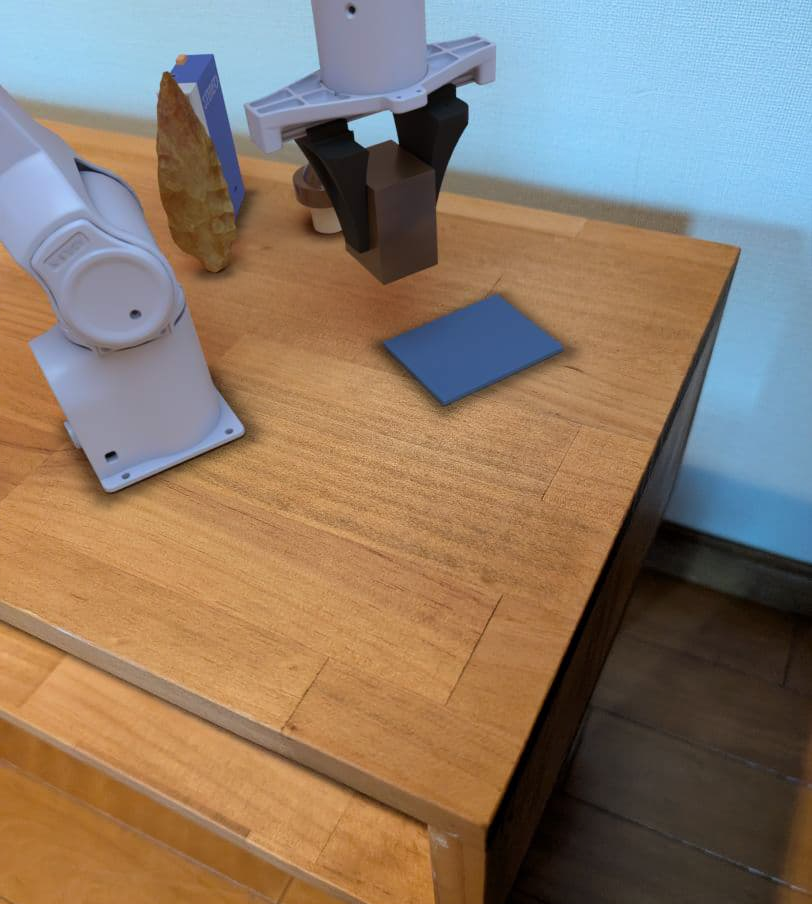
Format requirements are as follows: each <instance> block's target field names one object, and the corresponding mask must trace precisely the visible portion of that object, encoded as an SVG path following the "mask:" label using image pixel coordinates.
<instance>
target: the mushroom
mask: <svg viewBox="0 0 812 904" xmlns="http://www.w3.org/2000/svg"><path fill="white" fill-rule="evenodd" d="M291 179H292V185H293V186H292V187H293V192H294V197H295V200H296V202H298V204H300V205H301V206H304V207H306V208H310V212H311V213H310V214H311V219H312V225H313V228H314V230H315V231H316V232H318V233H320V234H328V235H329V234H336V233H339V232H342V229H341V226H340V223H339V220H338V218H337V215H336V213H335V210H334V208H333V205H332V203H331V201H330V199H329V197H328V195H327V193H326V191H325V189H324V187H323V185H322V183H321V181H320V179H319V178H318V176H317V174H316V172H315V171H314V169H313V167H312V166H311V164H310V163H309V161H308V160H307V162H306V164H304V165H302V166H300V167H299V168H298V169H296V170H295V171H294V173H293V174H292V178H291Z"/></svg>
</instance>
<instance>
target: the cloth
mask: <svg viewBox="0 0 812 904" xmlns="http://www.w3.org/2000/svg"><path fill="white" fill-rule="evenodd" d="M382 347H383V348H384V349H385V350H386V351H387V352H388V353H389V354H390V355H391V356H392V357H394V359H395V360H396V361H397V362H398V363H399V364H401V365H402V367H404V368H405V370H406V371H407V372H408V373H410V375H411V376H412V377H413V378H414V379H416V380H417V381H418V382H419V383H420V384H421V385H422V386H423V387H424V388H425V389H426V391H428V392H429V393H430V394H431V395H432V397H434V398H435V400H437V401H438V402H439V403H440V404H441V405H442V406H443V407H445V406H447V405H450V404H452V403H454V402H456V401H458V400H461V399H462V398H464V397H467V396H469V395H471V394H473V393H476V392H479V391H480V390H483V389H484V388H486V387H489V386H491V385H493V384H495V383H497V382H500V381H502V380H504V379H506V378H508V377H510V376H513V375H515V374H517V373H520V372H521V371H524V370H526V369H528V368H530V367H531V366H534V365H537V364H539V363H540V362H542V361H545V360H547V359H549V358H552V357H554V356H556V355H558V354H560V353H562V352H564V350H565V349H564V348H565V347H564V345H562V344H561V343H560V342H559V341H557V340H556V339H555V338H554V337H552V336H551V335H550V334H549V333H547V332H546V331H545V330H543V329H542V328H541V327H539V325H537V324H536V323H534V322H533V321H532V320H531V319H530V318H528V317H526V316H525V315H524V314H523V313H522V312H520V311H519V310H518V309H516V308H515V307H514V306H512V305H511V303H509V302H507V300H505V299H504V298H503V297H501V296H500V295H498V293H495V294H493V295H491V296H489V297H486V298H484V299H481V300H479V301H477V302H474V303H472V304H470V305H469V304H468V305H467V306H465V307H463V308H459V309H458V310H456V311H453V312H451V313H448V314H446V315H443V316H441V317H439V318H436V319H435V320H432V321H429V322H427V323H424V324H422V325H420V326H417V327H415V328H412V329H410V330H408V331H406V332H403V333H400V334H398V335H396V336H394V337H392V338H389V339H387V340H384V341H383V342H382Z"/></svg>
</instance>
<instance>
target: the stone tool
mask: <svg viewBox="0 0 812 904" xmlns="http://www.w3.org/2000/svg"><path fill="white" fill-rule="evenodd" d="M161 74H162V75H161V80H160V82H159V89H160V92H159V96H158V97H157V103H156V121H157V123H156V127H157V129H156V139H155V140H156V145H155V152H156V156H157V171H156V172H157V183H158V192H159V198H160V202H161V204H162V208H163V211H164V213H165V214H166V217H167V225H168V229H169V233H170V237H171V239H172V241H173V243H174V244H175V245H176V246H177V247H178V249H180V250H181V252H183V253H185V254H186V255H189V256H192V257H194V258H196V259H197V260H198V261H199V262H200V263H201V265H202V266H203V267H204V268H205V269H206V270H208V271H210V272H212V273H214V274H215V273H218V272H219V271H221V270H222V269H224V268H226V267H227V266H229V263H231V258H232V247H233V244H234V242H235V241H237V227H236V224H235V221H236V219H235V220H234V215H235V214H234V209H233V204H232V202H231V200H230V198H229V192H228V185H227V183H226V181H225V179H224V177H223V172H222V167H221V164H220V161H219V159H218V157H217V154H216V149H215V147H214V143H213V141H212V140H211V138H210V137H209V136H208V135H207V133H206V130H205V128H204V126H203V124H202V123H201V121H200V120H199V118H198V116H197V115H196V114H195V112H194V109H193V107H192V105H191V103H190V101H189V100H188V98H187V97H186V95H185V94H184V92H183V91H182V89H181V88H180V87H179V86H178V82H176V81H175V79H174V78H173V77H172V75H171V74H170V71H168V70H166V71H163V72H162V73H161Z"/></svg>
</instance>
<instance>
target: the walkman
mask: <svg viewBox="0 0 812 904" xmlns="http://www.w3.org/2000/svg"><path fill="white" fill-rule="evenodd" d="M169 73H170V74H171V75H172V77H173V78H174V79H175V81H176V82H178V86H179V87H180V88H181V89H182V91H183V92H184V94H185V95H186V97H187V98H188V100H189V101H190V103H191V105H192V107H193V109H194V112H195V114H196V115H197V116H198V118H199V120H200V121H201V123H202V124H203V126H204V128H205V130H206V133H207V135H208V136H209V137H210V138H211V140H212V141H213V143H214V147H215V149H216V154H217V157H218V159H219V161H220V164H221V167H222V172H223V177H224V179H225V181H226V183H227V185H228V192H229V198H230V200H231V202H232V204H233V209H234V214H235V215H234V220H235V221H236V220H237V219H236V218H237V216H238V214H239V211H240V208H241V206H242V204H243V201H244V198H245V196H246V189H245V184H244V181H243V176H242V173H241V167H240V164H239V158H238V155H237V150H236V146H235V141H234V138H233V131H232V129H231V124H230V120H229V115H228V111H227V108H226V106H227V105H226V102H225V98H224V97H225V96H224V94H223V89H222V85H221V81H220V75H219V71H218V68H217V63H216V59H215V54H214V53H201V54H199V53H198V54H186V53H185V54H178V56H177V57H176V59H175V64H174V66H173V67H172V69H171V70H170V71H169ZM159 92H160V88H159V89H158V90H157V92H156V97H157V98H158V96H159Z"/></svg>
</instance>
